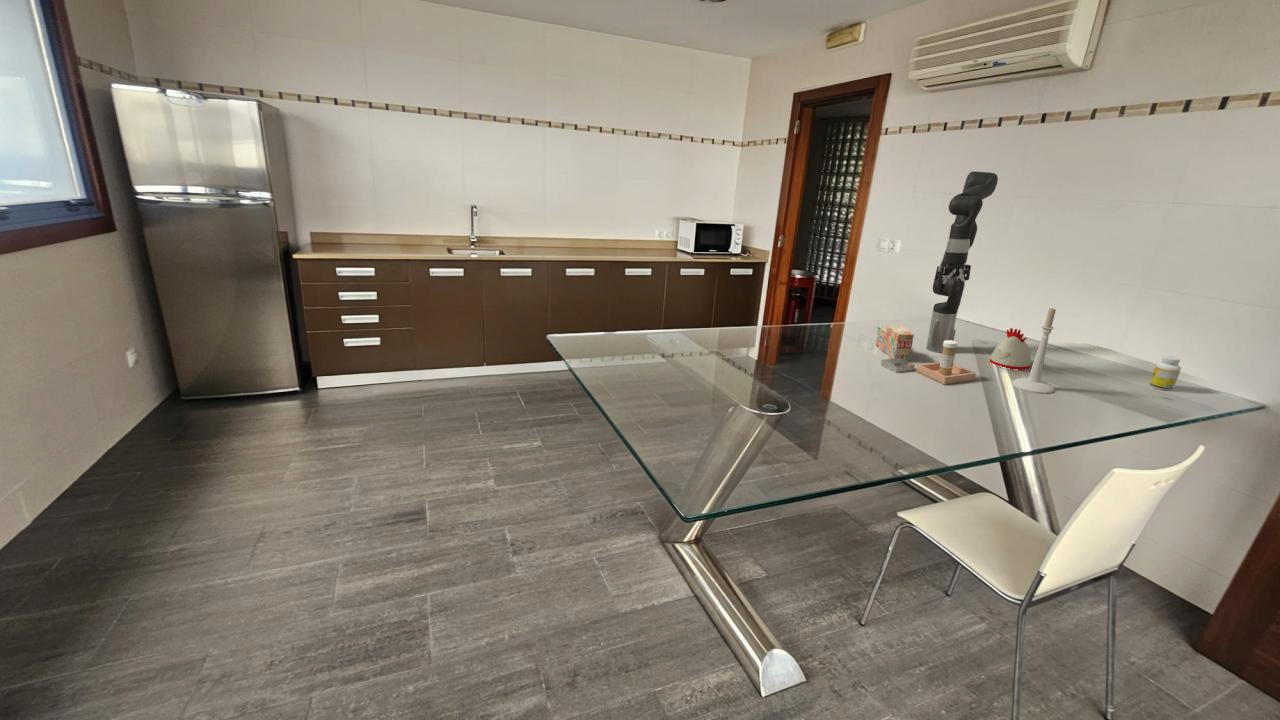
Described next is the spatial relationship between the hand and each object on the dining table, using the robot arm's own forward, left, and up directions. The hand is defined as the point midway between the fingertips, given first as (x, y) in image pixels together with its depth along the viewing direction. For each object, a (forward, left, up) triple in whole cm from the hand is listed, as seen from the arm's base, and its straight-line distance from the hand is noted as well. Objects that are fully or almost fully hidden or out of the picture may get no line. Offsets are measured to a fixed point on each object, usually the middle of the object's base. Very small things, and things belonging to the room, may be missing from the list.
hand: (949, 292), depth 210 cm
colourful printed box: (+8, -17, -30) cm, 36 cm away
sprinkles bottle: (+7, +12, -30) cm, 33 cm away
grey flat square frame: (+18, -1, -30) cm, 35 cm away
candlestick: (-15, +30, -30) cm, 45 cm away
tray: (+7, +12, -30) cm, 33 cm away
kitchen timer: (-28, +9, -30) cm, 42 cm away
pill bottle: (-58, +44, -30) cm, 79 cm away
